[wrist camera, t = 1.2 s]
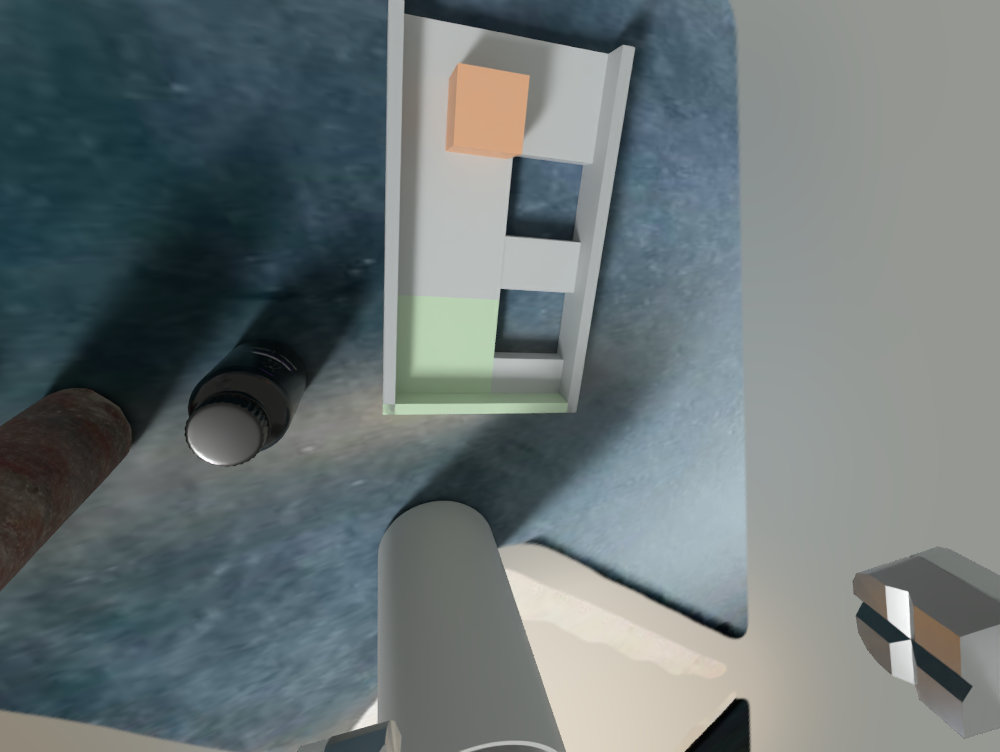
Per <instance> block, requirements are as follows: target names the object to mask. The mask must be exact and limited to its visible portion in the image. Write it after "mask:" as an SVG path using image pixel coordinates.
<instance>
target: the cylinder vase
mask: <svg viewBox="0 0 1000 752" xmlns="http://www.w3.org/2000/svg"><path fill="white" fill-rule="evenodd" d="M389 720H391V721H395V722H396V725H397V727H398V730H399V732H400V734H401V737H402V738H401V749H400V752H566V751H565V748H564V744H563V741H562V739H561V736H560V733H559V730H558V727H557V724H556V721H555V718H554V715H553V712H552V709H551V706H550V703H549V700H548V697H547V694H546V691H545V688H544V685H543V682H542V679H541V676H540V673H539V670H538V667H537V664H536V661H535V658H534V655H533V653H532V650H531V647H530V644H529V641H528V638H527V635H526V632H525V629H524V626H523V623H522V620H521V617H520V614H519V611H518V608H517V605H516V602H515V599H514V596H513V593H512V590H511V587H510V584H509V581H508V578H507V575H506V572H505V569H504V566H503V564H502V561H501V558H500V555H499V552H498V549H497V546H496V543H495V540H494V537H493V534H492V531H491V528H490V526H489V524H488V523H487V521H486V520H485V518H484V517H483V516H482V515H481V514H480V513H479V512H477V511H476V510H475V509H473V508H471V507H469V506H467V505H465V504H462V503H458V502H453V501H433V502H428V503H424V504H421V505H418V506H416V507H414V508H411V509H410V510H408V511H406V512H405V513H403V514H402V515H400V516H399V517H398V518H397V519H396V520H395V521H394V522H393V523H392V524H391V525H390V526H389V527H388V529H387V530H386V532H385V534H384V535H383V537H382V540H381V543H380V546H379V551H378V724H379V723H382V722H386V721H389Z"/></svg>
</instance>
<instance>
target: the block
mask: <svg viewBox="0 0 1000 752" xmlns="http://www.w3.org/2000/svg"><path fill="white" fill-rule="evenodd" d="M529 78H530V75H525V74H519V73H513V72H508V71H502V70H496V69H491V68H485V67H479V66H473V65H468V64H462V63H458V64H457V66H456V67H455V69H454V71H453V72H452V74H451V76H450V77H449V88H448V108H447V127H446V147H445V151H447V152H455V153H463V154H471V155H479V156H486V157H494V158H502V159H509V158H512V157H515V156H519V155H522V148H523V138H524V128H525V118H526V108H527V98H528V88H529Z"/></svg>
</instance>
